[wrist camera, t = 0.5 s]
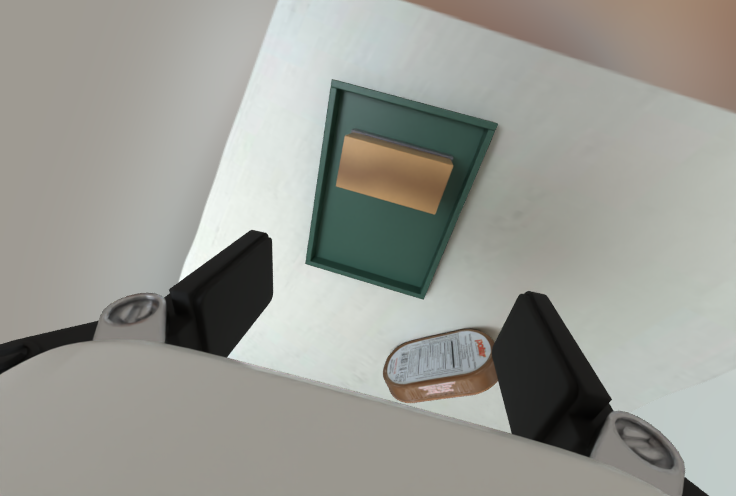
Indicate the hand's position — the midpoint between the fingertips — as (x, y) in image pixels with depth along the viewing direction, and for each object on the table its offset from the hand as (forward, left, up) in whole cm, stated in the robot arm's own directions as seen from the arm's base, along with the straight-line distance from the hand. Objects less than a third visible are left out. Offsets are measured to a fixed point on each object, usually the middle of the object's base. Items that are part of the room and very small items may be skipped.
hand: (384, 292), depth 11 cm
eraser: (0, -2, -21) cm, 21 cm away
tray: (+4, -2, -22) cm, 22 cm away
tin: (+21, +10, -22) cm, 32 cm away
